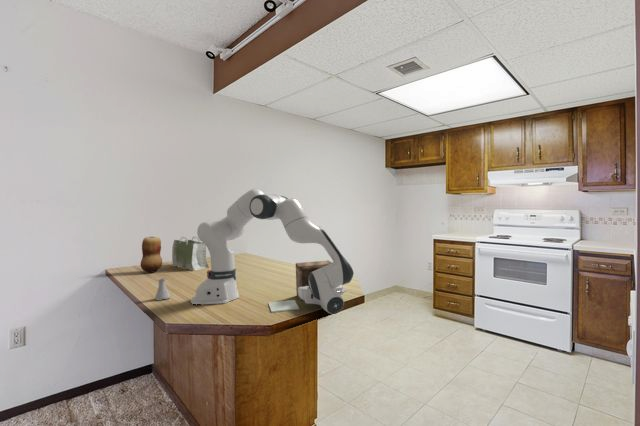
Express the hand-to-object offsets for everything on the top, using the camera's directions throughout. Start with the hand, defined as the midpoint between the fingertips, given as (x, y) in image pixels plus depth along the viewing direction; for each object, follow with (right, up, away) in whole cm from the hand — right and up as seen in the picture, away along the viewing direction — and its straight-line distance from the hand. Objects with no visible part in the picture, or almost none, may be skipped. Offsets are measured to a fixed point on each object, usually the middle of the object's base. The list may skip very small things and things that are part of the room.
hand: (316, 286), depth 149 cm
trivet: (-15, -7, -9) cm, 19 cm away
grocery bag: (-96, -6, +88) cm, 131 cm away
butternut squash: (-117, -7, +74) cm, 139 cm away
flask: (-77, -9, +9) cm, 78 cm away
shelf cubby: (-1, -6, +5) cm, 8 cm away
